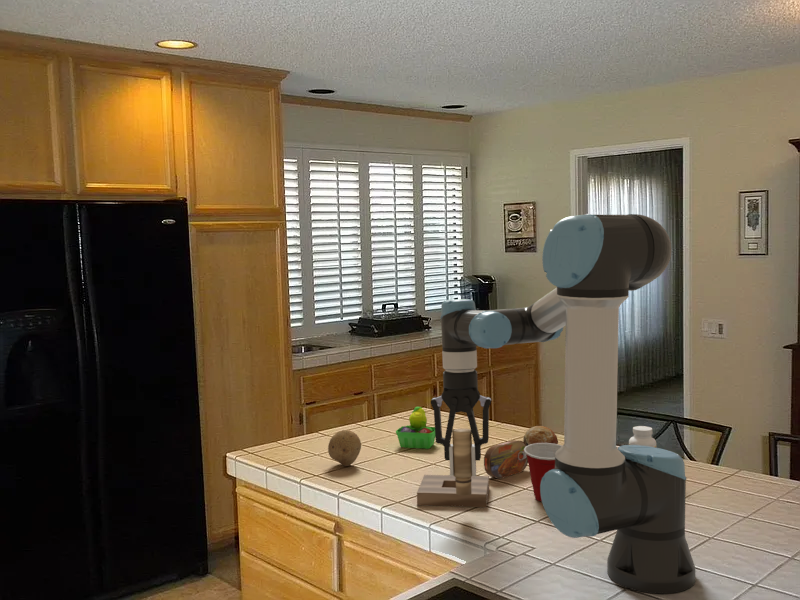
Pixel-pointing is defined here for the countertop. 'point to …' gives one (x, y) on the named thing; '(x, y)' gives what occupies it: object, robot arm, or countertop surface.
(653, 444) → the supplement bottle
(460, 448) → the peg
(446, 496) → the board
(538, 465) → the plastic cup
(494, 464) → the tin
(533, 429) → the bread roll
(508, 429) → the countertop surface
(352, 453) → the natural sponge
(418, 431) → the fruit basket
